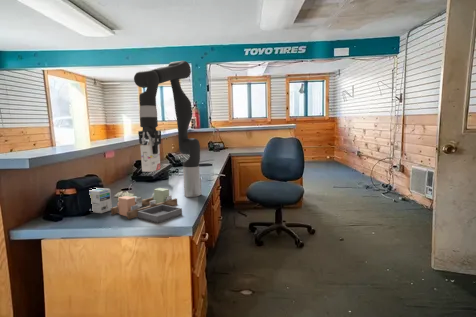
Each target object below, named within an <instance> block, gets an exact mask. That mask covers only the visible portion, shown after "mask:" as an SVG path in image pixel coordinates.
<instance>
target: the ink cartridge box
mask: <svg viewBox="0 0 476 317" xmlns="http://www.w3.org/2000/svg"><path fill="white" fill-rule="evenodd" d="M157 141H158V140H157ZM152 146H153V145H152V141H151V138H149V142H148V145H142V144H141V145H139V147H140V159H141V160H140V161H141V172H142V173H143V172H146V173H148V172H156V171H158V170H161V153H160V151H161V150H160V144H159V145H158V154H153V150H152Z"/></svg>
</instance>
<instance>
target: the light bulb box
mask: <svg viewBox="0 0 476 317" xmlns="http://www.w3.org/2000/svg"><path fill="white" fill-rule="evenodd" d="M95 188H96V189H92V188H91V189H92V190H89V195H90V198H91V204H92V211H93V212H92V213H96V214H103V213H106V212H111V208H112V206H113V205H112V194H111V192H112V191H111V189H110V188H103V187H95Z"/></svg>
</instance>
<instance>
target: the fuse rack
mask: <svg viewBox="0 0 476 317" xmlns="http://www.w3.org/2000/svg"><path fill="white" fill-rule="evenodd" d="M142 198H143V197H141V196H138V197H135V205H133V206H131V211H129V212H127V216H126V217H127V220H131V219H134V218H138V211H141V210H145V209H148V208H151V207H155V206H158V205H162V204H163V205H168V206H173V207H175V206H177V205H178V198H172V195H169V196H167V197H166V201H165V202H161V203H158V204H156V200H155V199H154V193H152V194H151V197H148V198H143V199H142ZM110 212H111V213H110V214H111V215H116V214H120V213H119V201H118V202H116V206H114V207H112V208H111V210H110Z"/></svg>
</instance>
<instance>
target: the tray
mask: <svg viewBox="0 0 476 317" xmlns="http://www.w3.org/2000/svg"><path fill="white" fill-rule="evenodd" d="M180 216H183V209H182V208H180V207H176V206H168V205H163V204H162V205H158V206H155V207H151V208H148V209H145V210H141V211H138V217H137V218H138V219H139V220H144V221H147V222H151V223H155V224H160V223H163V222H166V221H168V220H171V219H175V218H176V217H180Z"/></svg>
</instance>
